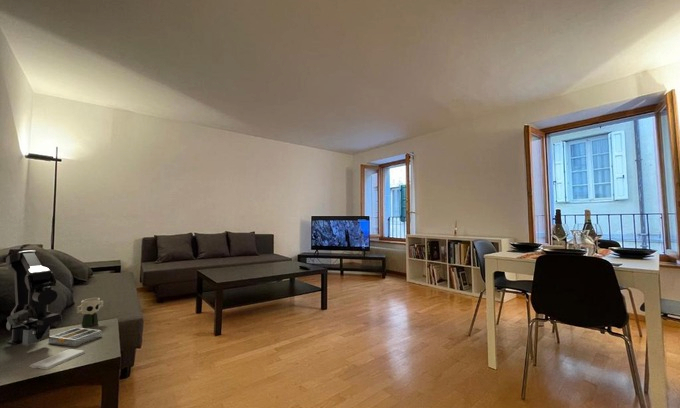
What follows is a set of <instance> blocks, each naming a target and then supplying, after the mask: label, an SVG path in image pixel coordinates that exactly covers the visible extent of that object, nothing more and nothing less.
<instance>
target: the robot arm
mask: <svg viewBox="0 0 680 408" xmlns="http://www.w3.org/2000/svg"><path fill="white" fill-rule="evenodd" d="M5 264H6V265H7V269H8V270H9V271H10V272H11V273H12V274H13V279H14V281H13V282H14V295H15V296H14V297H15V298H14V299H15V306H14V308H13V309H12V311H10V315H9V316H7V317H6V320H7V322H6V325H5V327H6V329H7V331H11V339H10V340H8V341H6V343H7V344H12V345H13V344H15V345H18V344H21V343H23V330H24V329H27V328H31V327H36V334H37V339H38V340H39V339H41V338H42V336H43V335H44V333H45V332H46V330H47V329H48V327H49V326H50V327H51V324H53V323H57V322H60V321H62V318H63V317H62V316H63V315H62V314H60V313H51V311H50V310H49V309H48V306H49V305H51V304H52V303H53V302H55V300H57V298H58V292H57V291H56V290H54V289H52V287H56V285H57V284H56V283H57V279H56V276H55V274H54V272H53V271H51V269H49V267H46V266H43V265H42V263H41V262H40V260H39V258H38V255H37V251H36V250H33V249H32V250H20V251H18V252H16V253H12V254H9V255H7V256H6V258H5Z"/></svg>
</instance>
